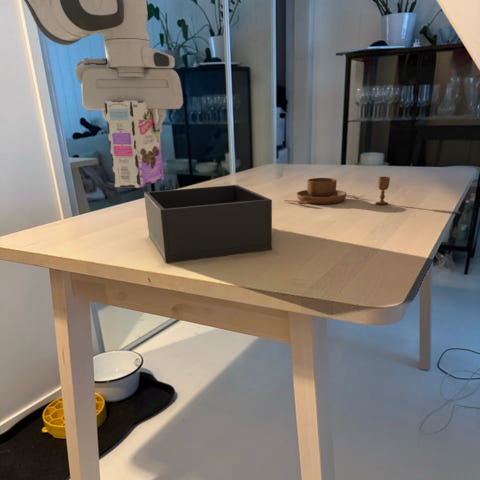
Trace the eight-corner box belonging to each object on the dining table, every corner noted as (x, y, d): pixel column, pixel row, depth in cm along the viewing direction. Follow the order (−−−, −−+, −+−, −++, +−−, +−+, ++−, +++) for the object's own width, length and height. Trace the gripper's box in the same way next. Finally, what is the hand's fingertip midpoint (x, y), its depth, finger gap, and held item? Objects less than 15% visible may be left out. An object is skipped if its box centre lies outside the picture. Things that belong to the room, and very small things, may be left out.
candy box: (140, 188, 94) (130, 99, 87) (113, 188, 95) (102, 100, 88) (165, 179, 106) (158, 100, 99) (141, 179, 107) (133, 101, 100)
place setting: (330, 192, 121) (331, 169, 118) (392, 203, 106) (395, 177, 103) (278, 201, 112) (278, 176, 110) (337, 214, 97) (339, 185, 94)
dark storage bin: (165, 263, 70) (160, 210, 66) (149, 236, 85) (143, 192, 81) (272, 249, 75) (272, 199, 71) (238, 226, 90) (236, 184, 86)
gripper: (74, 56, 85) (85, 136, 91) (182, 57, 91) (186, 132, 97) (74, 59, 91) (85, 135, 97) (175, 60, 97) (180, 131, 102)
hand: (136, 133), depth 97 cm, fingers closed on candy box, 8 cm apart
